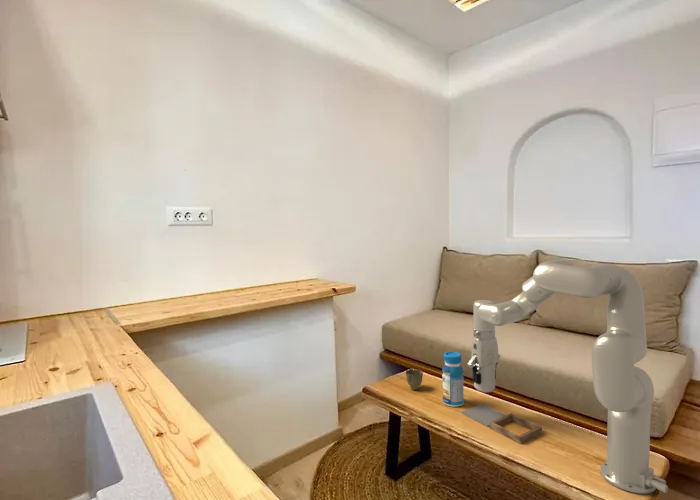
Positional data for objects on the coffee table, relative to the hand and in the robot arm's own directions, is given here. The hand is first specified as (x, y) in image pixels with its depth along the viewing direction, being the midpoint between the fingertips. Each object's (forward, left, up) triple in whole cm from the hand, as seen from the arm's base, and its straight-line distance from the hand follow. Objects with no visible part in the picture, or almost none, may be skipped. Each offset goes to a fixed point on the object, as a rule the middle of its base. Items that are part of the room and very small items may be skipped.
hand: (484, 380), depth 144 cm
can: (0, 0, -4) cm, 4 cm away
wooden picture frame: (-13, 0, -13) cm, 19 cm away
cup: (+33, +6, -14) cm, 36 cm away
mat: (0, 0, -13) cm, 13 cm away
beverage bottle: (+14, +2, -14) cm, 20 cm away
